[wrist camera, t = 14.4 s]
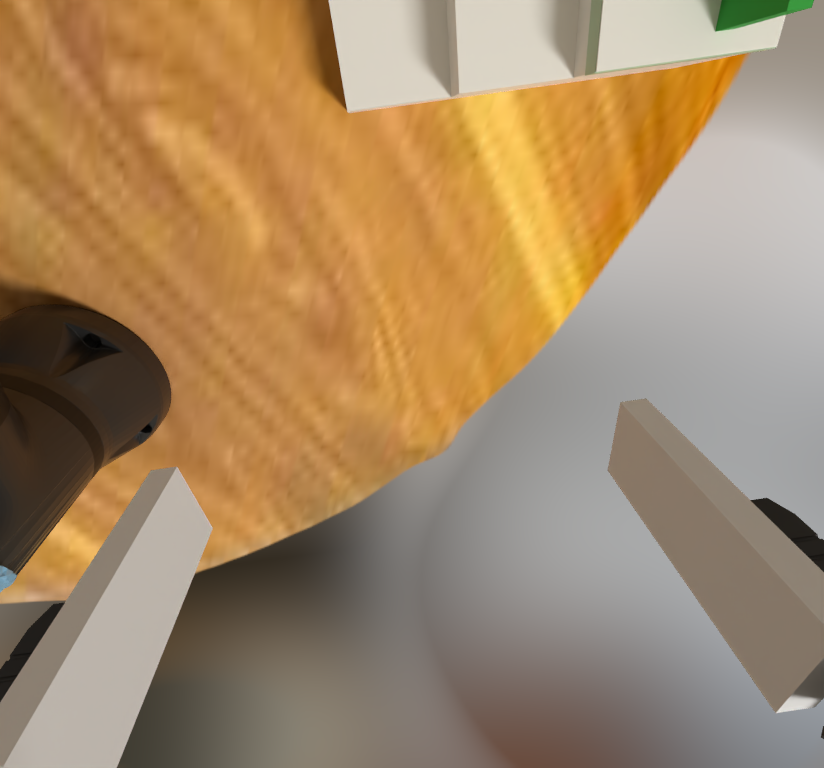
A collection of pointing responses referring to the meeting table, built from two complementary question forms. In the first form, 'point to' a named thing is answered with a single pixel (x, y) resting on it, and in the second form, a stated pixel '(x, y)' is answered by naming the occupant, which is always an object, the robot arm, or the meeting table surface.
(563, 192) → the meeting table surface
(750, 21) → the pipe clamp
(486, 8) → the stepped riser
